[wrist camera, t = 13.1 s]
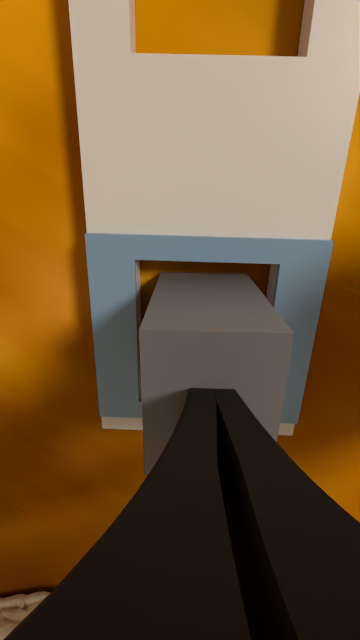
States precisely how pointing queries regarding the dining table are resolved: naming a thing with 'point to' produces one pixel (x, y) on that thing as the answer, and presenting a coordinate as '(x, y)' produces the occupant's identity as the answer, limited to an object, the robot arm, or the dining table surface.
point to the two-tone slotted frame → (209, 175)
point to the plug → (209, 351)
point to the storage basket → (17, 610)
